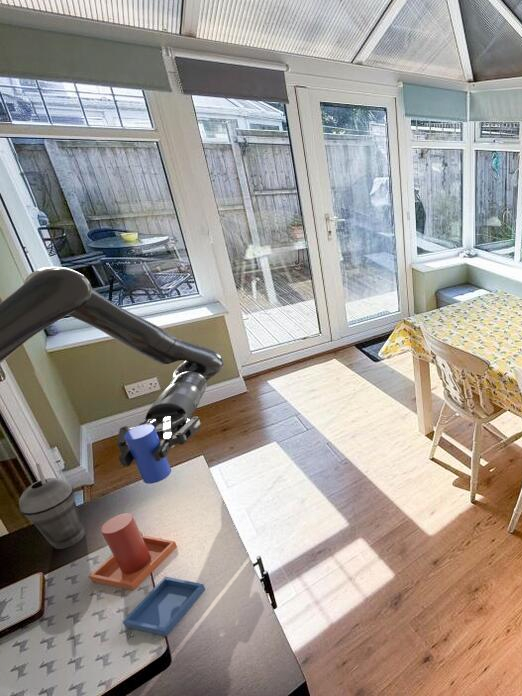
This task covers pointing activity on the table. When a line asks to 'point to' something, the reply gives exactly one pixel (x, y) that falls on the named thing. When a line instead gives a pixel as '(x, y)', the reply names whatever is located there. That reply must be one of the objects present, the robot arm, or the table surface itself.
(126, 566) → the red canister
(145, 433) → the blue canister
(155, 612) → the blue tray
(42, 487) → the beverage cup
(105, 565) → the terracotta tray
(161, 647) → the table surface
